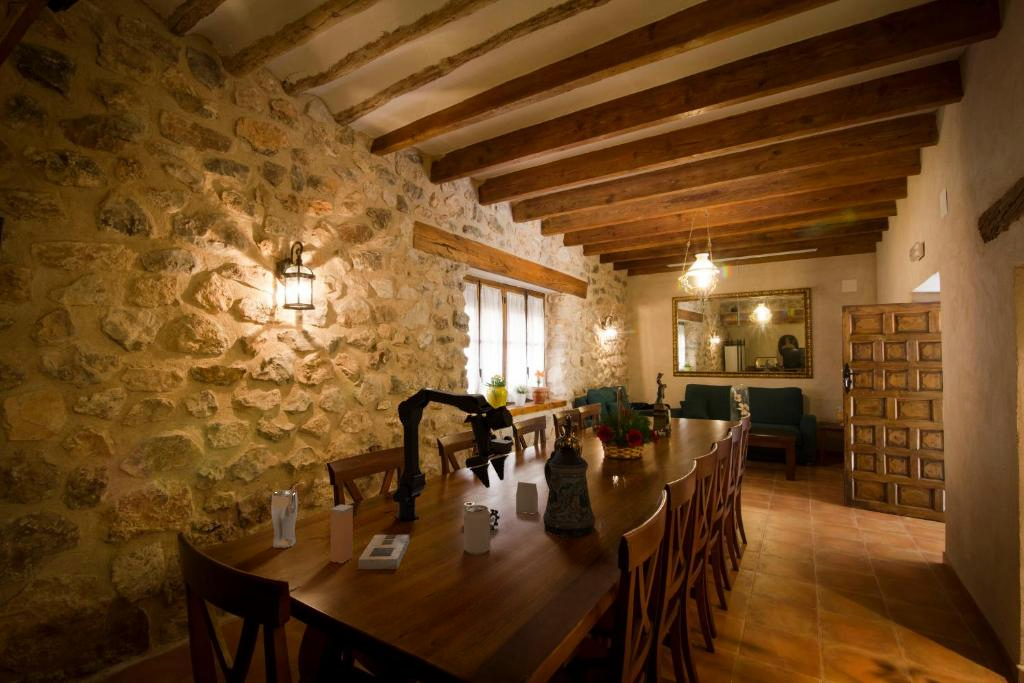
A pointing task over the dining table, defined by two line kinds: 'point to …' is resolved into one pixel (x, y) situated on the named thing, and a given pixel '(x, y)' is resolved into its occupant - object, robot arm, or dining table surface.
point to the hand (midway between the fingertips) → (495, 483)
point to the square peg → (341, 533)
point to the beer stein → (567, 495)
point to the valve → (490, 515)
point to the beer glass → (284, 517)
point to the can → (477, 529)
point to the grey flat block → (384, 552)
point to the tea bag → (527, 497)
